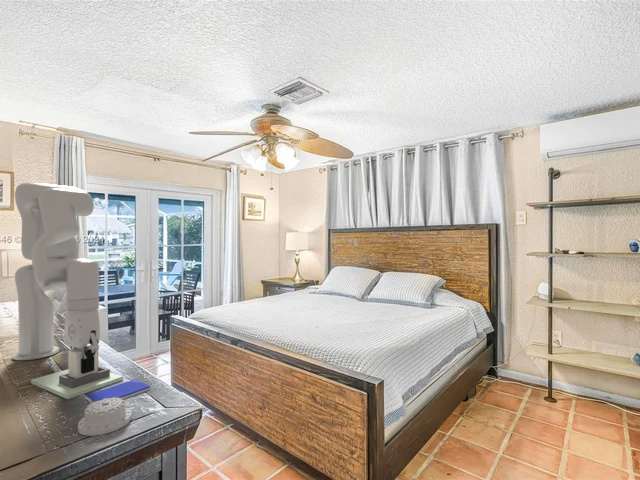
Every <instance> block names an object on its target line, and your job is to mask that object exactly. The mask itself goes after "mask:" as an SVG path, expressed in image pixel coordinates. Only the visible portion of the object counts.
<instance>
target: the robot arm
mask: <svg viewBox="0 0 640 480" xmlns="http://www.w3.org/2000/svg"><path fill="white" fill-rule="evenodd" d="M14 192H15V193H14V200H15V204H16V207H17V210H18V213H19V215H20V217H21V247H20V249H21V254H22V257H23V258H24V259H26V260H28V261H31V263H30V264H26V265H23V266H20V267H19V268H18V269H17V270H16V271H15V273H14V282H15V283H14V284H15V286H16V292H17V299H18V300H17V302H18V307H17V308H18V351H17V352H14V353H13V354H12V360H14V361H31V360H39V359H42V358H46V357H50V356H53V355H56V354H57V353H58V352H59V351H60V348H59V347H58V346H56V345H55V344H54V341H55V339H54V336H55V335H54V334H55V333H54V328H55V327H54V324H55V323H54V320H55V319H54V314H55V313H54V312H55V311H54V310H55V309H54V302H53V299H52V298H50V296H49V295H47V294H46V293H45V292H47V291H56V290H64V289H66V295H65V296H66V299H65V301H66V305H65V306H66V308H65V309H66V313H65V320H64V331H63V332H64V334H63V342H64V344H65V345H66V346H67V347H68V346H69V348H70V350H73V349H77V348H78V349H82V357H83V359H81V373H82V374H84V373H87V372H91V371H93V370H94V356H95V353H96V351H97V350H98V351H99V349H100V345H99V344H100V340H101V329H100V328H101V326H100V317H99V316H100V315H99V309H100V296H99V295H100V264H99V263H98V261H96V260H93V259H88V258H79V243H78V240H77V238H76V237H77V235H78V234H79V233H80V226H79V224H78V219H77V217H88V216H90V215H91V214H92V213H93V212H94V208H95V205H94V199H93V196H91V193H89V192H88V191H86V190H84V189H81V188H79V187H76V186H69V185H58V184H50V183H41V182H23V183H21V184H20V183H19V185H17V186H16V188H15V191H14ZM54 345H55V346H54ZM89 345H90V346H89ZM88 348H90V349H89V350H88V351H87V352H86V349H88Z"/></svg>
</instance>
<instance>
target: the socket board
mask: <svg viewBox="0 0 640 480" xmlns="http://www.w3.org/2000/svg"><path fill="white" fill-rule="evenodd" d="M123 380H124V377H123V375H120V374H117V373H115V372H114V373H113V372H111V369H110V368H107V367H104V366H102V365H98V372H96V373H93V374H90V375H86V376H83V377H80V378H77V379H75V378H72V377H69V376H68V368H67V369H64V370H60V371H57V372H53V373H50V374H46V375H43V376H40V377H36V378H33V379H30V382H31V383H30V384H32V385H34V386H36V387H38V388H40V389H43V390H44V391H48V392H50V393H52V394H54V395H57V396H59V397H60V398H63V399H66V400H70V399H73V398H76V397H79V396H81V395H84V394H86V393H90V392H92V391H95V390H99V389H102V388H105V387H107V386H109V385H113V384H115V383H118V382H121V381H123Z"/></svg>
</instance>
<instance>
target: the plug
mask: <svg viewBox="0 0 640 480" xmlns="http://www.w3.org/2000/svg"><path fill="white" fill-rule="evenodd" d="M90 345H91V344H88V346H90ZM89 349H90V348H88V349H86V352H87V351H88V350H89ZM67 353H68V354H67V356H68V357H67V361H68V366H67V369H68V376H69V377H72V378H75V379H77V378H80V377H83V376H86V375H90V374H93V373H96V372H98V366H99V349H98V350H97V351H96V353H95V356H94V370H93V371H91V372H87V373H84V374H82V373H81V359H83V357H82V349H78V348H77V349H73V350H71V349H68V352H67Z"/></svg>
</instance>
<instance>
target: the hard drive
mask: <svg viewBox="0 0 640 480" xmlns="http://www.w3.org/2000/svg"><path fill="white" fill-rule="evenodd" d="M150 390H151V386H150V385H149V384H146V383H145V382H143V381H140V380H138V379H135V378H134V379H132V380H128V381H126V382H122V383H120V384H116V385H112V386H109V387H107V388H104V389H101V390H98V391H95V392H92V393H88V394H86V395H84V398H85V400H87V401H88V402H90V404H91V403H94V402H95V401H100V400H103V399H105V398H106V399H109V398H113V397H115V398H117V397H119V398H122V400H124V399H127V398H130V397H133V396H135V395H136V396H137V395H139V394H141V393H144V392H147V391H150Z"/></svg>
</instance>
